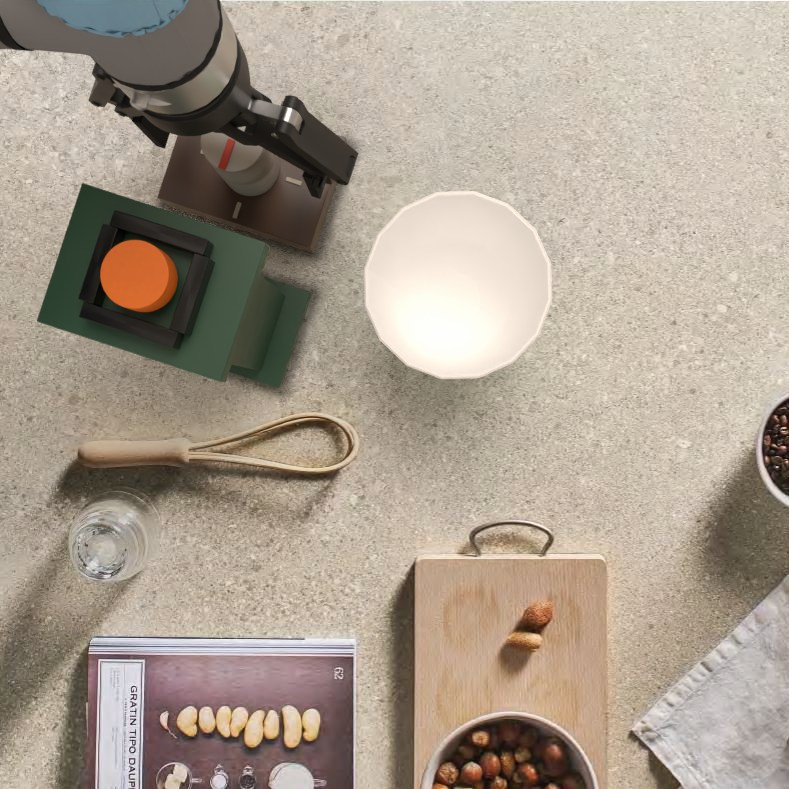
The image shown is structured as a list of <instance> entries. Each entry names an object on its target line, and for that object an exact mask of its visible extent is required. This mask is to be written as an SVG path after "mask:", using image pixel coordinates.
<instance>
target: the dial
mask: <svg viewBox="0 0 789 789" xmlns="http://www.w3.org/2000/svg"><path fill="white" fill-rule="evenodd" d="M245 127H246V126H244V127H239V129H240V130H242V131H244V130H245ZM201 148H202V151H203V154H204V156H205V157H206V159H207V160H208V161H209V163H210V164H211V165H212V166H213V167H214V169H215V170H216V171H217V172H218V173H219V175H220V176H221V177H222V178H223V179H224V181H225V182H226V183H227V184H228V185H229V187H230V188H231V189H232V190H234V191H235V192H237V193H239V194H241V195H245V196H257V195H260V194H263V193H265V192H267V191H268V190H269V189H270V188H271V187H272V186H273V185H274V184H275V182H276V181H277V178H278V176H279V171H280V163H279V158H278V156H276V155H275V154H273V153H271V152H269V151H268V150H266V149H264V148H262V147H261V146H259V145H258V146H248V145H243V144H241V143H239V142H237V141H236V140H234V139H232V138H230V137H229V136H227V135H225V134H223V133H214V132H211V133H208V134H204V135H201Z"/></svg>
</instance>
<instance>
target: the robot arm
mask: <svg viewBox="0 0 789 789" xmlns="http://www.w3.org/2000/svg"><path fill="white" fill-rule="evenodd" d="M0 50H14V51H27V52H34V51H40V52H53V53H65V54H73V55H74V54H76V55H84V56H87V57H90V58H91V59H92V61H93V62H94V65H93V68H92V71H91V75H92V76H93V77H94V82H93V84H92V88H91V91H90V93H89V97H88V102H89V103H90V104H91V105H93V106H94V107H97V108H105V107H106V106H107V104H110V105H112V106H115V107H114V109H113V111H114V112H115V113H116V114H118V116H120V117H122V118H129V120H131V122H132V123H133V124H134V125H135V126H136V127H137V128H138V129H139V130H140V131H141V132H142V133H143V134H144V135H145V137H147V138H148V139H149V140H150V142H152V144H154V146H155V147H158V148H161V149H164V150H165V149H166V146H167V143H168V140H169V137H170V134H172V135H174V136H178V135H179V136H200V135H204V134H208V133H211V132H214V133H223V134H225V135H227V136H229V137H230V138H232V139H234V140H236V141H237V142H239V143H241V144H243V145H248V146H258V145H259V146H261V147H262V148H264V149H266V150H268V151H269V152H271V153H273V154H275V155H276V156H278V157H280V158H282V159H283V160H285V161H287V162H289V163H290V164H292V165H294V166H296V167H297V168H299V169H301V170H303V171H304V172H303V175H302V177H303V179H304V181H305V183H306V185H307V187H308V189H309V192H310V194H311V196H312V197H315V198H318V199H320V198H321V195H322V192H323V189H324V186H325V183H326V184H329V185H331V184H332V183H333V180H334V181H336V182H337V184H338V185H340V186H349V183H350V180H351V178H352V175H353V172H354V168H355V165H356V162H357V159H358V156H359V152H358V151H356V149H355V148H353V147H352V146H351V145H349V144H348V142H347V143H346V142H344V141H343V140H342V139H341V138H340V137H338V136H337V135H338V134H336V133H335V132H334V131H332V129H330V128H329V127H328V126H327V125H326V124H324V123H323V122H322V121H321V120H319V119H318V118H317V117H316V116H314V114H312V113H311V112H310V111H309V110H308V109H307V106H306V105H305V103H304V102H303V101H302V100H301V99H299V97H297V96H295V95H290V94H289V95H285V96H284V99H283V100H282V101H281V103H280V105H279V104H277V103H276V104H275V103H273V100H272V99H271V98H269V97H268V96H266V95H265V94H264V93H262V92H261V91H259V90H257V89H256V88H255V87H254V86H252V84H251V73H250V67H249V62H248V59H247V54H246V53H245V50H244V48H243V46H242V43H241V42H240V39H239V38H238V35H237V34H236V31H235V28H234V26H233V23H232V22H231V20H230V18H229V16H228V14H227V12H226V10H225V8H224V5H223V4H222V2H221V0H0ZM244 126H246V127H245V130H244V131H242V130H240V129H239V127H244Z"/></svg>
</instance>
